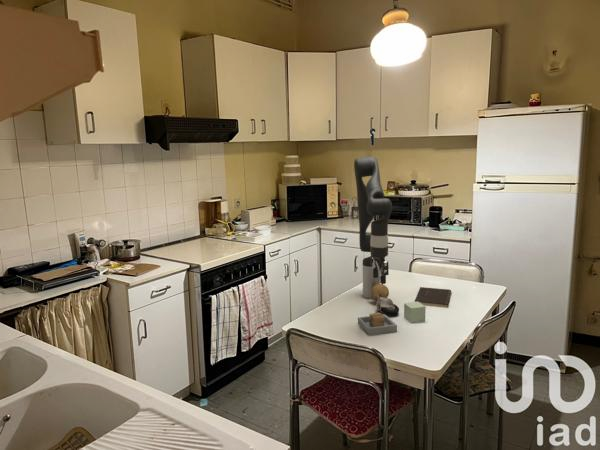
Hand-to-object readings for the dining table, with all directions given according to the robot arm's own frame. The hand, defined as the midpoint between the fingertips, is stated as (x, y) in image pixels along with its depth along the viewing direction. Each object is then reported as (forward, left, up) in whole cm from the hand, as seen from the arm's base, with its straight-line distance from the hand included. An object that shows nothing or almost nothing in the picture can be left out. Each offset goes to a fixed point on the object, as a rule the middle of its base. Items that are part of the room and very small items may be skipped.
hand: (379, 280), depth 199 cm
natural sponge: (-26, +11, -21) cm, 35 cm away
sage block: (-2, +18, -21) cm, 28 cm away
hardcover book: (-24, +40, -22) cm, 52 cm away
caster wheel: (-13, +10, -21) cm, 27 cm away
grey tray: (+2, -2, -21) cm, 21 cm away
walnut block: (+2, -2, -20) cm, 20 cm away
